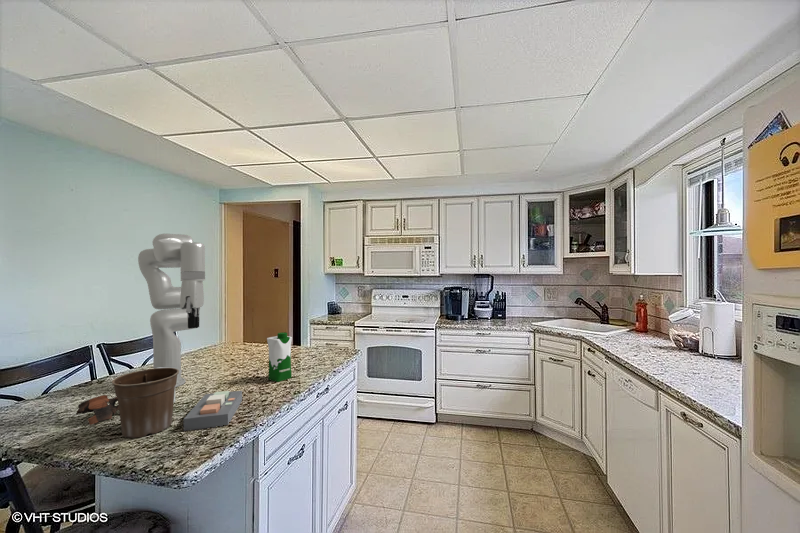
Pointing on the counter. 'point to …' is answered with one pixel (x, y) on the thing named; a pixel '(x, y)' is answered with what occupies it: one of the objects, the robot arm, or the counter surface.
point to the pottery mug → (99, 408)
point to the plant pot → (145, 400)
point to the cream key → (216, 399)
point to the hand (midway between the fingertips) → (193, 327)
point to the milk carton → (279, 357)
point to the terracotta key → (210, 409)
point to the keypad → (214, 419)
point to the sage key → (223, 393)
